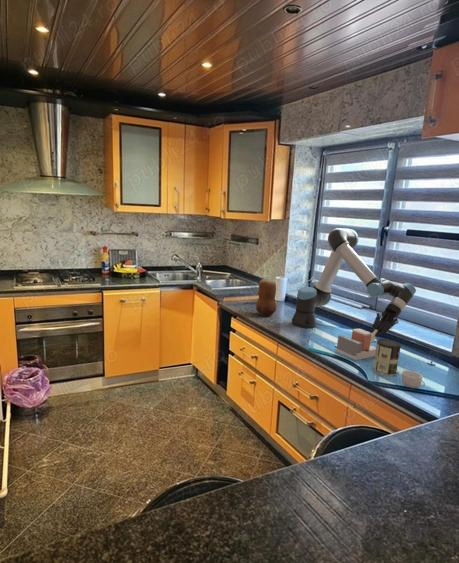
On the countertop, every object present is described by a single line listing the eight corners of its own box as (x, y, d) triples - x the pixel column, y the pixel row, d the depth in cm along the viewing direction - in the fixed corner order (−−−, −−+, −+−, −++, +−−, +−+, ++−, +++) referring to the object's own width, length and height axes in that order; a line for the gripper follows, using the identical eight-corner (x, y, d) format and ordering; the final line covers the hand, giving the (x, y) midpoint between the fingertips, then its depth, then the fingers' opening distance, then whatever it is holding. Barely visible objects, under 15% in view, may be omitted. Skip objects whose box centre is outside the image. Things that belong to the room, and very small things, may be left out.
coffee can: (393, 368, 179) (398, 340, 176) (398, 377, 169) (403, 347, 166) (371, 365, 181) (375, 337, 178) (374, 374, 171) (379, 344, 168)
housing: (364, 345, 209) (366, 331, 207) (384, 354, 198) (387, 338, 196) (336, 351, 197) (338, 335, 196) (356, 360, 186) (358, 343, 185)
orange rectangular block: (356, 346, 201) (359, 328, 199) (369, 351, 194) (372, 333, 193) (349, 347, 199) (352, 329, 197) (362, 352, 192) (365, 334, 190)
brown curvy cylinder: (267, 312, 266) (270, 277, 262) (279, 317, 255) (282, 280, 251) (251, 313, 259) (254, 277, 255) (262, 318, 248) (266, 281, 244)
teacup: (396, 383, 162) (398, 371, 161) (407, 380, 166) (409, 369, 165) (417, 393, 154) (419, 381, 153) (429, 390, 158) (431, 378, 157)
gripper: (408, 315, 201) (383, 348, 196) (387, 308, 212) (363, 340, 207) (403, 306, 198) (378, 340, 192) (382, 300, 209) (357, 332, 203)
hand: (370, 340), depth 199 cm, fingers closed
